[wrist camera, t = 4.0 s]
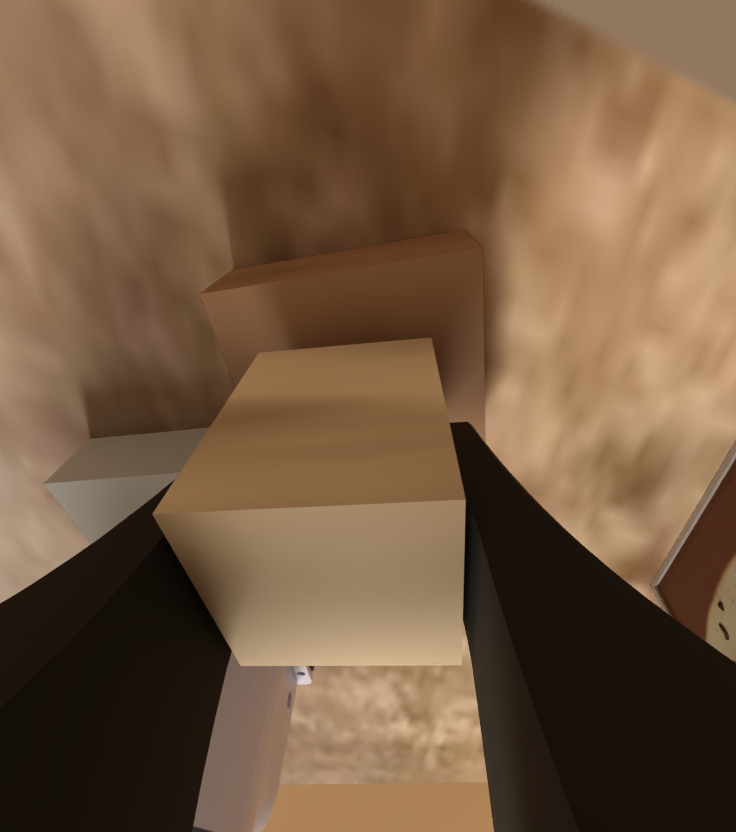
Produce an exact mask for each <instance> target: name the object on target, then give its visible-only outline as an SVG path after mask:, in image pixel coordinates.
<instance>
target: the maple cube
mask: <svg viewBox="0 0 736 832" xmlns="http://www.w3.org/2000/svg"><path fill="white" fill-rule="evenodd" d="M465 510H466V499H465V494H464V489H463V484H462V480H461V475H460V470H459V466H458V461H457V456H456V451H455V447H454V442H453V437H452V433H451V428H450V423H449V418H448V414H447V409H446V404H445V400H444V395H443V390H442V385H441V381H440V376H439V371H438V367H437V362H436V357H435V352H434V348H433V343H432V338H420V339H409V340H398V341H386V342H375V343H364V344H352V345H341V346H330V347H319V348H307V349H296V350H285V351H274V352H262V353H258V355H257V356H256V358H255V359H254V361H253V362H252V364H251V365H250V367H249V368H248V370H247V371H246V373H245V374H244V376H243V378H242V379H241V381H240V382H239V384H238V385H237V387H236V388H235V390H234V391H233V393H232V394H231V396H230V397H229V399H228V400H227V402H226V403H225V405H224V406H223V408H222V409H221V411H220V412H219V414H218V415H217V417H216V418H215V420H214V421H213V423H212V424H211V426H210V427H209V429H208V431H207V432H206V434H205V435H204V437H203V438H202V440H201V441H200V443H199V444H198V446H197V447H196V449H195V450H194V452H193V453H192V455H191V456H190V458H189V459H188V461H187V462H186V464H185V465H184V467H183V468H182V470H181V471H180V473H179V474H178V476H177V477H176V479H175V480H174V482H173V484H172V485H171V487H170V488H169V490H168V491H167V493H166V494H165V496H164V497H163V499H162V500H161V502H160V503H159V505H158V506H157V508H156V509H155V511H154V512H153V514H152V515H153V516H154V518H155V520H156V521H157V523H158V525H159V527H160V528H161V530H162V532H163V533H164V535H165V537H166V539H167V540H168V542H169V544H170V545H171V547H172V549H173V551H174V552H175V554H176V556H177V557H178V559H179V561H180V563H181V564H182V566H183V568H184V569H185V571H186V573H187V575H188V576H189V578H190V580H191V582H192V583H193V585H194V587H195V588H196V590H197V592H198V594H199V595H200V597H201V599H202V600H203V602H204V604H205V606H206V607H207V609H208V611H209V612H210V614H211V616H212V618H213V619H214V621H215V623H216V624H217V626H218V628H219V630H220V631H221V633H222V635H223V636H224V638H225V640H226V642H227V643H228V645H229V647H230V648H231V650H232V652H233V654H234V655H235V657H236V659H237V660H238V662H239V664H240V666H396V665H462V634H463V592H464V551H465Z"/></svg>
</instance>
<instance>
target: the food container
mask: <svg viewBox="0 0 736 832" xmlns="http://www.w3.org/2000/svg"><path fill="white" fill-rule="evenodd" d="M650 586H651V588H652V590H653V592H654V594H655V596H656V597H657V599H658V601H659V603H660V605H661V607H662V609H663V611H665V612H666V613H668V614H669V615H670V616H672V617H673V618H674V619H676V620H677V621H678V622H680V623H681V624H683V625H684V626H685V627H687V628H688V629H689V630H691V631H692V632H694V633H695V634H696V635H698V636H699V637H700V638H702V639H703V640H704V641H706V642H707V643H709V644H710V645H711V646H713V647H714V648H715V649H717V650H718V651H720V652H721V653H722V654H724V655H725V656H727V657H728V658H729V659H731V660H732V661H734V662H735V663H736V441H735V443H734V444H733V446H732V448H731V450H730V451H729V453H728V455H727V456H726V458H725V460H724V461H723V463H722V465H721V466H720V468H719V470H718V471H717V473H716V475H715V476H714V478H713V480H712V482H711V483H710V485H709V487H708V488H707V490H706V492H705V493H704V495H703V497H702V498H701V500H700V502H699V503H698V505H697V507H696V508H695V510H694V512H693V514H692V515H691V517H690V519H689V520H688V522H687V524H686V525H685V527H684V529H683V530H682V532H681V534H680V535H679V537H678V539H677V540H676V542H675V544H674V546H673V547H672V549H671V551H670V552H669V554H668V556H667V557H666V559H665V561H664V562H663V564H662V566H661V567H660V569H659V571H658V572H657V574H656V576H655V578H654V579H653V581H652V583H651V584H650Z"/></svg>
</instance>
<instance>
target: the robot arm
mask: <svg viewBox="0 0 736 832" xmlns="http://www.w3.org/2000/svg"><path fill="white" fill-rule="evenodd" d="M450 428H451V433H452V437H453V442H454V447H455V451H456V456H457V461H458V466H459V470H460V475H461V480H462V484H463V489H464V494H465V499H466V510H465V551H464V592H463V621H464V626H465V630H466V635H467V639H468V645H469V650H470V655H471V661H472V667H473V674H474V681H475V689H476V696H477V703H478V711H479V718H480V726H481V733H482V741H483V748H484V756H485V764H486V771H487V779H488V786H489V795H490V801H491V810H492V818H493V826H494V832H736V663H735V662H734V661H732V660H731V659H729V658H728V657H727V656H725V655H724V654H722V653H721V652H720V651H718V650H717V649H715V648H714V647H713V646H711V645H710V644H709V643H707V642H706V641H704V640H703V639H702V638H700V637H699V636H698V635H696V634H695V633H694V632H692V631H691V630H689V629H688V628H687V627H685V626H684V625H683V624H681V623H680V622H678V621H677V620H676V619H674V618H673V617H672V616H670V615H669V614H668V613H666V612H665V611H663V610H662V609H661V608H659V607H658V606H657V605H655V604H654V603H652V602H651V601H650V600H648V599H647V598H646V597H645V596H643V595H642V594H641V593H640V592H638V591H637V590H636V589H635V588H633V587H632V586H631V585H630V584H628V583H627V582H626V581H625V580H623V579H622V578H621V577H620V576H618V575H617V574H616V573H615V572H613V571H612V570H611V569H610V568H609V567H607V566H606V565H605V564H604V563H603V562H602V561H600V560H599V559H598V558H597V557H596V556H595V555H593V554H592V553H591V552H590V551H589V550H587V549H586V548H585V547H584V546H583V545H582V544H581V543H580V542H579V541H577V540H576V539H575V538H574V537H573V536H572V535H571V534H570V533H569V532H568V531H567V530H565V529H564V528H563V527H562V526H561V525H560V524H559V523H558V522H557V521H556V520H555V519H554V518H553V517H552V516H551V515H550V514H549V513H548V512H547V511H546V510H545V509H544V508H543V507H542V506H541V505H540V504H539V503H538V502H537V501H536V500H535V499H534V498H533V497H532V496H531V495H530V494H529V493H528V492H527V491H526V490H525V488H524V487H523V486H522V485H521V484H520V483H519V482H518V481H517V480H516V479H515V477H514V476H513V475H512V474H511V473H510V472H509V471H508V470H507V469H506V467H505V466H504V465H503V464H502V463H501V462H500V460H499V459H498V458H497V457H496V456H495V454H494V453H493V452H492V451H491V449H490V448H489V447H488V446H487V444H486V443H485V442H484V441H483V439H482V438H481V437H480V435H479V434H478V432H477V431H476V430H475V428H474V427H473V426H472V425H471V424H470V423H469V422H453V423H450ZM174 480H175V479H174ZM174 480H173V481H172V482H171V483H170V484H168V485H167V486H166V487H165V488H163V489H162V490H161V491H160V492H159V493H157V494H156V495H155V496H154V497H153V498H151V499H150V500H149V501H148V502H146V503H145V504H144V505H142V506H141V507H140V508H138V509H137V510H136V511H134V512H133V513H132V514H131V515H129V516H128V517H127V518H125V519H124V520H123V521H121V522H120V523H119V524H117V525H116V526H115V527H114V528H112V529H111V530H110V531H108V532H107V533H106V534H104V535H103V536H102V537H101V538H99V539H98V540H96V541H95V542H94V543H92V544H91V545H89V546H88V547H87V548H85V549H84V550H82V551H81V552H79V553H78V554H77V555H75V556H74V557H72V558H71V559H69V560H68V561H66V562H65V563H63V564H62V565H60V566H59V567H57V568H56V569H54V570H53V571H51V572H50V573H48V574H47V575H45V576H44V577H42V578H41V579H39V580H38V581H36V582H35V583H33V584H32V585H30V586H28V587H27V588H25V589H24V590H22V591H21V592H19V593H17V594H16V595H14V596H12V597H11V598H9V599H7V600H5V601H4V602H2V603H0V832H262V830H263V828H264V827H265V825H266V823H267V821H268V819H269V817H270V815H271V813H272V810H273V807H274V804H275V801H276V797H277V793H278V788H279V782H280V776H281V771H282V765H283V760H284V754H285V748H286V743H287V737H288V732H289V726H290V720H291V715H292V709H293V704H294V698H295V692H296V687H297V684H310V683H311V682H312V679H313V674H312V672H311V669H310V667H309V666H240V664H239V662H238V660H237V659H236V657H235V655H234V654H233V652H232V650H231V648H230V647H229V645H228V643H227V642H226V640H225V638H224V636H223V635H222V633H221V631H220V630H219V628H218V626H217V624H216V623H215V621H214V619H213V618H212V616H211V614H210V612H209V611H208V609H207V607H206V606H205V604H204V602H203V600H202V599H201V597H200V595H199V594H198V592H197V590H196V588H195V587H194V585H193V583H192V582H191V580H190V578H189V576H188V575H187V573H186V571H185V569H184V568H183V566H182V564H181V563H180V561H179V559H178V557H177V556H176V554H175V552H174V551H173V549H172V547H171V545H170V544H169V542H168V540H167V539H166V537H165V535H164V533H163V532H162V530H161V528H160V527H159V525H158V523H157V521H156V520H155V518H154V516H153V515H152V514H153V512H154V511H155V509H156V508H157V506H158V505H159V503H160V502H161V500H162V499H163V497H164V496H165V494H166V493H167V491H168V490H169V488H170V487H171V485H172V484H173V482H174Z"/></svg>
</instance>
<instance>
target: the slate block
mask: <svg viewBox="0 0 736 832" xmlns="http://www.w3.org/2000/svg"><path fill="white" fill-rule="evenodd" d="M208 429H209V428H199V429H188V430H178V431H167V432H156V433H146V434H135V435H124V436H114V437H103V438H92V439H90V440H89V441H88V442H87V443H86V444H85V445H83V446H82V447H81V448H80V449H79V450H78V451H77V452H76V453H75V454H74V455H73V456H72V457H71V458H70V459H69V460H68V461H67V462H66V463H65V464H63V465H62V466H61V467H60V468H59V469H58V470H57V471H56V472H55V473H54V474H53V475H52V476H51V477H50V478H49V479H48V480H47V481H46V482H45V483H44V485H45V487H46V488H47V489H48V490H49V492H50V493H51V494H52V496H53V497H54V498H55V499H56V501H57V502H58V503H59V504H60V506H61V507H62V508H63V510H64V511H65V512H66V513H67V515H68V516H69V517H70V519H71V520H72V521H73V522H74V524H75V525H76V526H77V527H78V529H79V530H80V531H81V533H82V534H83V535H84V536H85V538H86V539H87V540H88V541H89V543H90V544H92V543H94V542H95V541H96V540H98V539H99V538H101V537H102V536H103V535H104V534H106V533H107V532H108V531H110V530H111V529H112V528H114V527H115V526H116V525H117V524H119V523H120V522H121V521H123V520H124V519H125V518H127V517H128V516H129V515H131V514H132V513H133V512H134V511H136V510H137V509H138V508H140V507H141V506H142V505H144V504H145V503H146V502H148V501H149V500H150V499H151V498H153V497H154V496H155V495H156V494H157V493H159V492H160V491H161V490H162V489H163V488H165V487H166V486H167V485H168V484H170V483H171V482H172V481H173V480H174V479H176V477H177V476H178V474H179V473H180V471H181V470H182V468H183V467H184V465H185V464H186V462H187V461H188V459H189V458H190V456H191V455H192V453H193V452H194V450H195V449H196V447H197V446H198V444H199V443H200V441H201V440H202V438H203V437H204V435H205V434H206V432H207V431H208Z"/></svg>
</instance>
